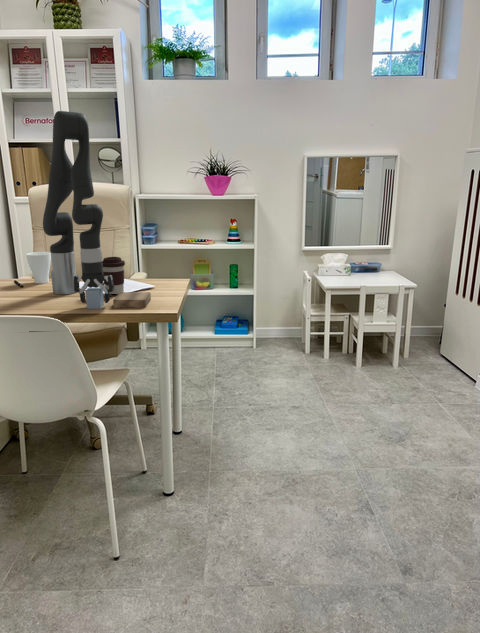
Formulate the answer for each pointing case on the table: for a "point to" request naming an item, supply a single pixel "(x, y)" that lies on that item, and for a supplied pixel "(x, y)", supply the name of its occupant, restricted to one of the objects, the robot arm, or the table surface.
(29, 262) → the cup
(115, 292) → the coffee cup
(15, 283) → the table surface
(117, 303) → the base
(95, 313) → the table surface
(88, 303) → the block
